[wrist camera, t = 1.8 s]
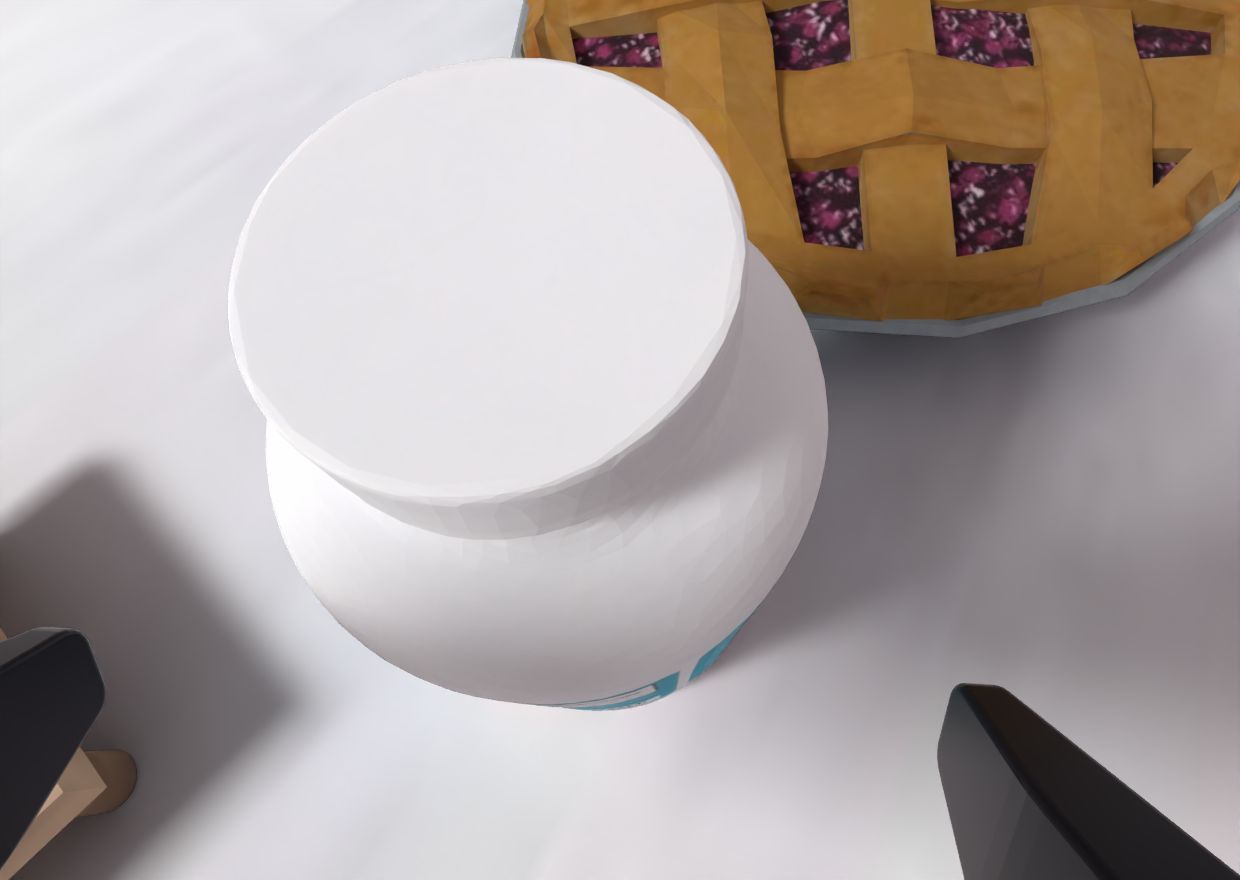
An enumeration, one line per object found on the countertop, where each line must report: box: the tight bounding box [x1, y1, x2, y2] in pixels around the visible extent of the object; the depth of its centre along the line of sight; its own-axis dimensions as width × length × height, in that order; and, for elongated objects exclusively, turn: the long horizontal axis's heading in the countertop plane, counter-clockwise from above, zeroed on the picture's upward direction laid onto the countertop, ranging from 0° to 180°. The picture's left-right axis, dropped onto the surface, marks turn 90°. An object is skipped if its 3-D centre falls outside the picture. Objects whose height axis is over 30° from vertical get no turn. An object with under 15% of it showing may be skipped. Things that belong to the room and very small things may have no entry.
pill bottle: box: [228, 58, 828, 711], centre depth 12 cm, size 8×7×14 cm
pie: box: [511, 0, 1240, 338], centre depth 22 cm, size 22×22×5 cm
